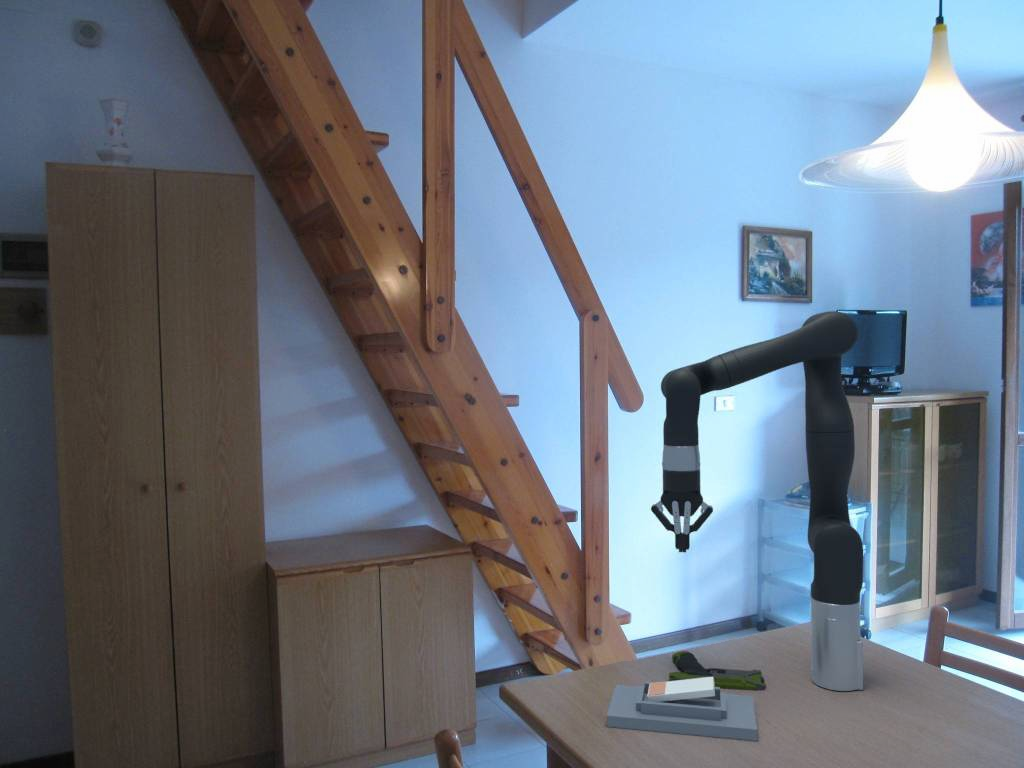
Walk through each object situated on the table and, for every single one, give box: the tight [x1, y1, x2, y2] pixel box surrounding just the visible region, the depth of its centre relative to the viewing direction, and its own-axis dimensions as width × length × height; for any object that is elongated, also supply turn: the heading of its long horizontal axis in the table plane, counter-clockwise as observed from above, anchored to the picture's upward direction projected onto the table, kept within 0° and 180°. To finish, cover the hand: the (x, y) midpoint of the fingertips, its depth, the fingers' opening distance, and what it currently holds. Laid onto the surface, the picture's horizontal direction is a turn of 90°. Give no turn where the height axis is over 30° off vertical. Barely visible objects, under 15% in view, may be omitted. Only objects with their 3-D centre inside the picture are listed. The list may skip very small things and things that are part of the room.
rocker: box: [647, 677, 715, 702], centre depth 143 cm, size 12×6×1 cm, turn 76°
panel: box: [606, 680, 758, 742], centre depth 144 cm, size 26×14×4 cm, turn 76°
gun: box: [668, 650, 767, 692], centre depth 163 cm, size 2×19×15 cm
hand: (682, 551), depth 159 cm, fingers closed
